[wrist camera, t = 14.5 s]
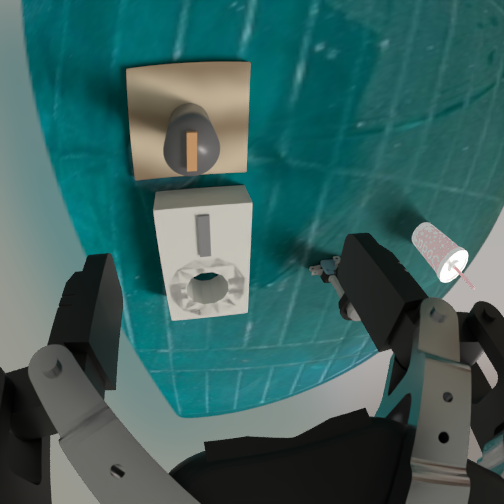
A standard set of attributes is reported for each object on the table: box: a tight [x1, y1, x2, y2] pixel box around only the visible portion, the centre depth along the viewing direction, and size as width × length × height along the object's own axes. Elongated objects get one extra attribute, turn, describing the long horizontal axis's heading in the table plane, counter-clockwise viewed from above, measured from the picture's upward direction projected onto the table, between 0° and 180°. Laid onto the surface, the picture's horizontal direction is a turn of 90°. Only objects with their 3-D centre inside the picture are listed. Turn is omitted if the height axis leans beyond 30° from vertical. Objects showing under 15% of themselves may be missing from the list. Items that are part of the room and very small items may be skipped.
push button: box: [309, 256, 361, 321], centre depth 41 cm, size 7×5×10 cm
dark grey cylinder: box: [163, 103, 220, 176], centre depth 24 cm, size 4×4×11 cm
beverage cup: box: [412, 222, 475, 290], centre depth 40 cm, size 6×6×14 cm
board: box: [126, 62, 251, 181], centre depth 29 cm, size 12×12×1 cm
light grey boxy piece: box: [153, 185, 252, 321], centre depth 37 cm, size 16×10×5 cm, turn 178°
